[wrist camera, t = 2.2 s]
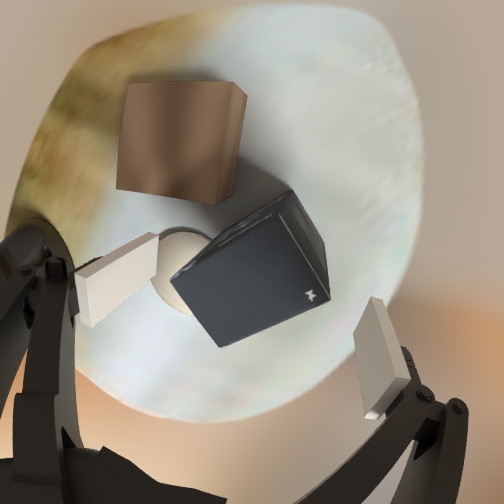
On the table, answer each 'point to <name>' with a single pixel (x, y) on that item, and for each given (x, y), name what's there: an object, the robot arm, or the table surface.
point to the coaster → (175, 264)
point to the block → (181, 139)
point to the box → (257, 273)
